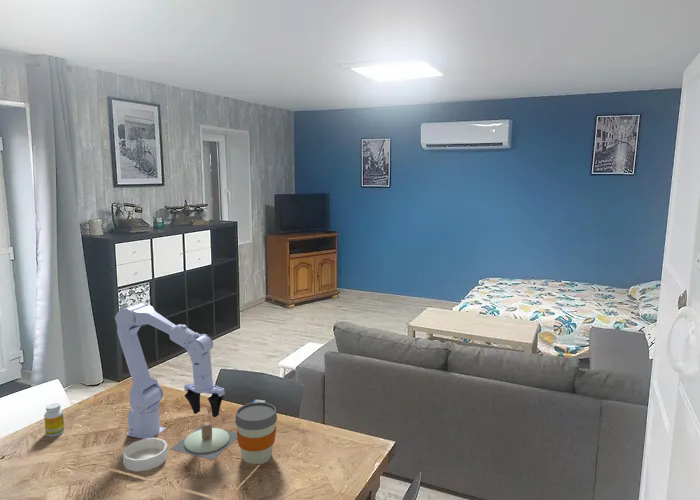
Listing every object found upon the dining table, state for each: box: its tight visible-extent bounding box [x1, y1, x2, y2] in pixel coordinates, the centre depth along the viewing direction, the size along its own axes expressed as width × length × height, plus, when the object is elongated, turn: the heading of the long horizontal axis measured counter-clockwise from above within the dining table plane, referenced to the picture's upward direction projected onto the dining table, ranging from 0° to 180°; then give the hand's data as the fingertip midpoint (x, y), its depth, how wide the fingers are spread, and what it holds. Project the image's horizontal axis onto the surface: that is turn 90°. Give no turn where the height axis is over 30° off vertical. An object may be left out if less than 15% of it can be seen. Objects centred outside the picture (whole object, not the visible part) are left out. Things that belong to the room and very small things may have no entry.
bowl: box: [122, 437, 169, 472], centre depth 142 cm, size 12×12×4 cm
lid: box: [184, 421, 229, 453], centre depth 153 cm, size 14×14×6 cm
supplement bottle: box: [43, 402, 65, 437], centre depth 157 cm, size 5×5×10 cm
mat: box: [170, 424, 238, 461], centre depth 153 cm, size 16×16×1 cm
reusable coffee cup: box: [234, 401, 278, 466], centre depth 145 cm, size 13×13×15 cm
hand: (206, 414), depth 152 cm, fingers open, 7 cm apart
